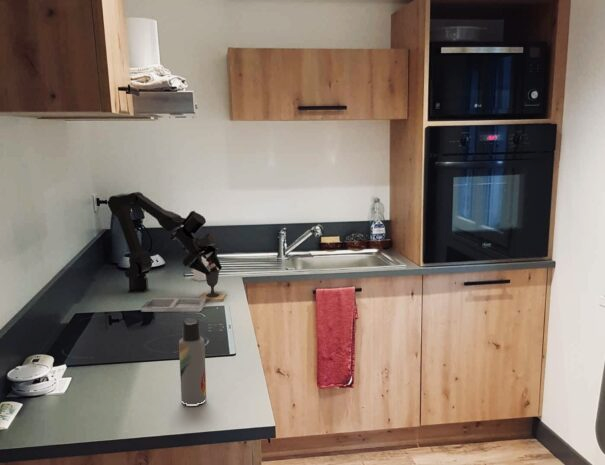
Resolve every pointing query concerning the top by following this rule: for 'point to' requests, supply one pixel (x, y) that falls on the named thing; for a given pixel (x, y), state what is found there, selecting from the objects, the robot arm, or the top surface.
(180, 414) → the top surface
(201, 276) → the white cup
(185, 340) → the lotion bottle
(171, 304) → the divided tray
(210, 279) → the sundae
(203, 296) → the coaster
